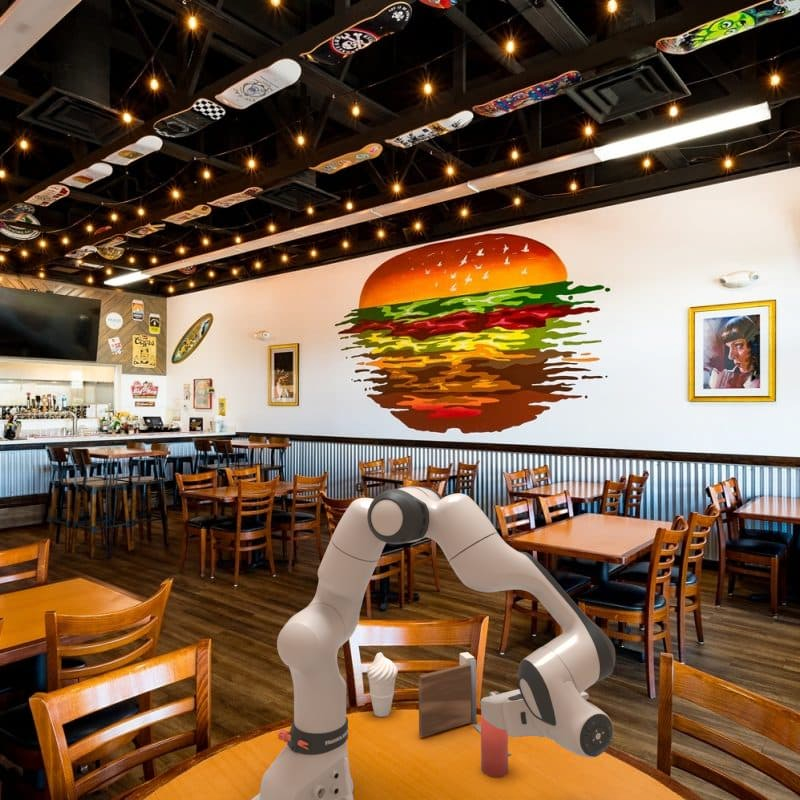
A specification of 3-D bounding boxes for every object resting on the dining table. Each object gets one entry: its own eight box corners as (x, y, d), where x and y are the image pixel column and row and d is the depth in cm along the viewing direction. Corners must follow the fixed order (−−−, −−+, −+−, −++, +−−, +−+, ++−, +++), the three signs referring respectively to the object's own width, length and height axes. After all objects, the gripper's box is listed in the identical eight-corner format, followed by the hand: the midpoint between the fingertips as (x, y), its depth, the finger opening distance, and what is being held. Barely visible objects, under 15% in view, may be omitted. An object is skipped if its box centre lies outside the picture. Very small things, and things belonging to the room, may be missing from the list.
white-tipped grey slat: (502, 756, 142) (502, 687, 142) (459, 713, 163) (459, 653, 163) (511, 754, 142) (511, 685, 143) (467, 712, 163) (467, 652, 164)
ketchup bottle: (499, 780, 132) (499, 709, 133) (476, 770, 136) (475, 701, 137) (513, 768, 137) (512, 699, 137) (489, 759, 141) (489, 692, 141)
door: (415, 731, 152) (415, 673, 152) (463, 717, 160) (463, 661, 160) (422, 737, 149) (422, 677, 150) (470, 722, 157) (470, 665, 157)
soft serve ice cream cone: (403, 711, 164) (403, 651, 165) (386, 724, 157) (386, 661, 158) (377, 703, 169) (377, 645, 169) (360, 715, 162) (360, 654, 162)
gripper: (590, 680, 119) (552, 665, 132) (498, 703, 113) (467, 685, 126) (596, 714, 118) (557, 695, 131) (503, 739, 112) (471, 717, 125)
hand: (512, 690), depth 128 cm, fingers open, 8 cm apart
